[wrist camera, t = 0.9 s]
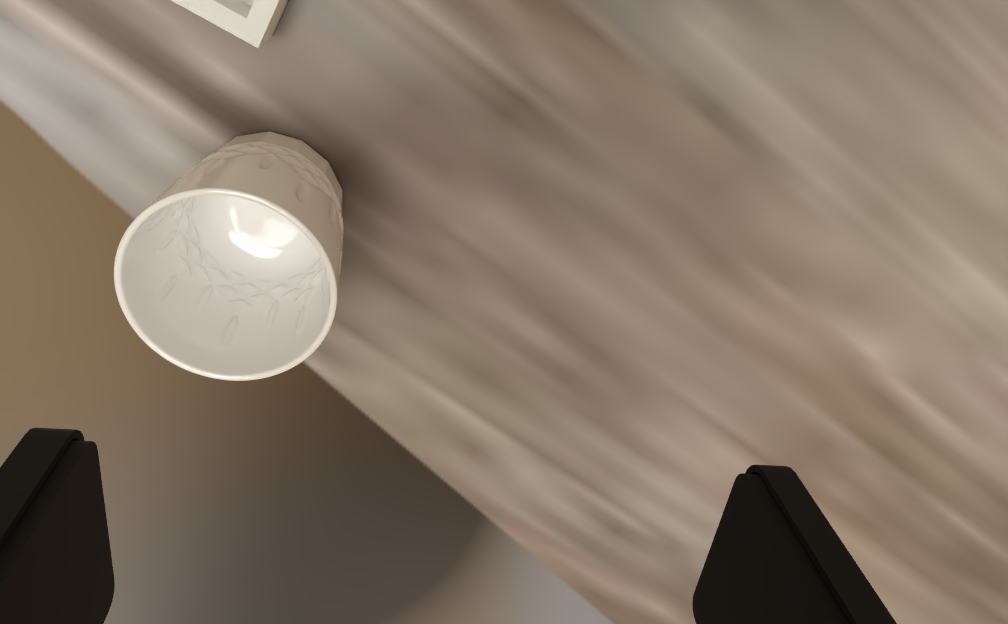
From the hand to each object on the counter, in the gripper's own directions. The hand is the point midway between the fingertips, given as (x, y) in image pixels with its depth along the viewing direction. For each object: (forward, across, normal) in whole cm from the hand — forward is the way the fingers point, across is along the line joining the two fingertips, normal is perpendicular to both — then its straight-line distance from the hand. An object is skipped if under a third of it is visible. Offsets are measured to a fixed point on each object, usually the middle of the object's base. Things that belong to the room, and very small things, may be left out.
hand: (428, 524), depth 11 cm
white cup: (+28, +7, +5) cm, 29 cm away
